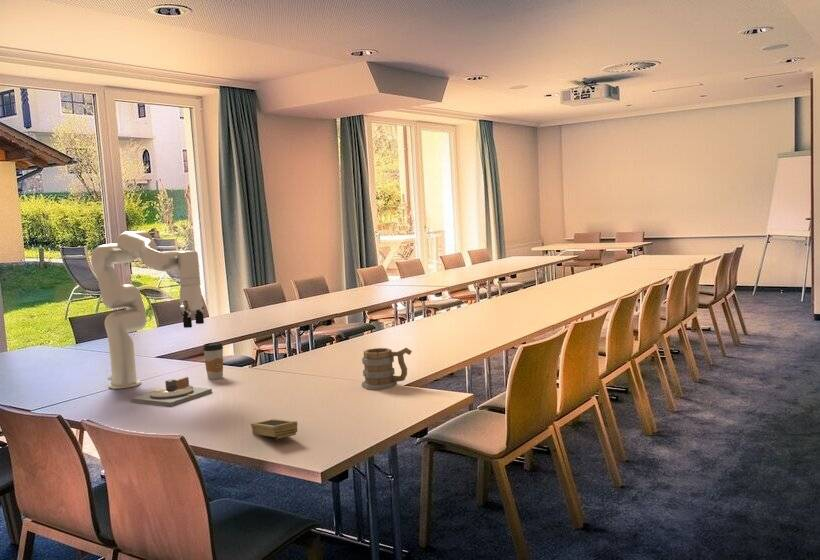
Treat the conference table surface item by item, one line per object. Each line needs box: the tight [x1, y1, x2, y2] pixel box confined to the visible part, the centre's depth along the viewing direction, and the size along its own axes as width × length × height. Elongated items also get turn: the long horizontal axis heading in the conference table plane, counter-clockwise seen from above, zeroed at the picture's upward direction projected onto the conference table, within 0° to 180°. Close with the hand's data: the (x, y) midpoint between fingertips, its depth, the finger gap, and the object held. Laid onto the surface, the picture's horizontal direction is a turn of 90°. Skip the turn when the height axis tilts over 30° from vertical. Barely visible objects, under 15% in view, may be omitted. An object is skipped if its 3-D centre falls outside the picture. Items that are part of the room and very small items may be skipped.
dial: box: [149, 376, 194, 398], centre depth 267 cm, size 16×16×5 cm
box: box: [250, 418, 298, 440], centre depth 210 cm, size 8×22×5 cm, turn 35°
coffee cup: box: [202, 341, 224, 381], centre depth 297 cm, size 8×8×15 cm
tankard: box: [361, 347, 413, 391], centre depth 267 cm, size 20×13×15 cm, turn 71°
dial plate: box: [130, 386, 213, 407], centre depth 267 cm, size 21×21×2 cm
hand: (194, 325), depth 271 cm, fingers open, 9 cm apart
